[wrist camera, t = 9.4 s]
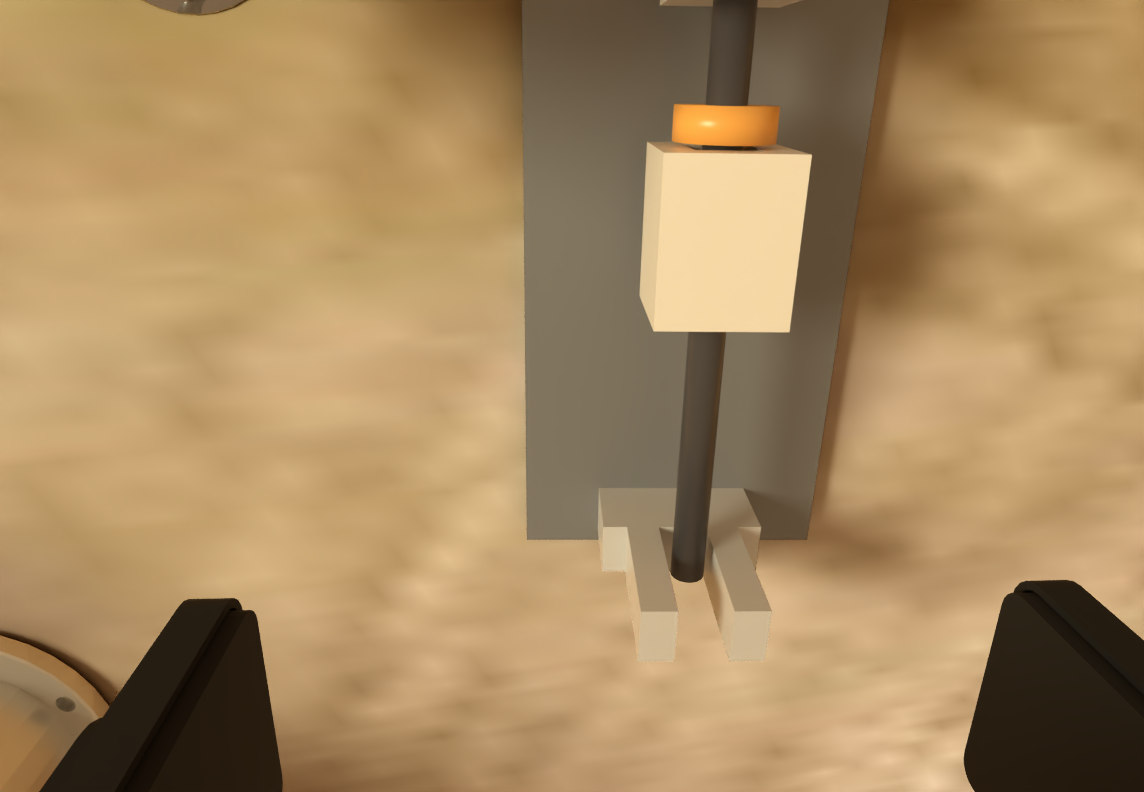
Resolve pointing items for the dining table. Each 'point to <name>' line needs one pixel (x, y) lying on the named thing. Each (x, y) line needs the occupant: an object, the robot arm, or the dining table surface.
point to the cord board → (616, 313)
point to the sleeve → (722, 237)
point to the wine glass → (194, 5)
